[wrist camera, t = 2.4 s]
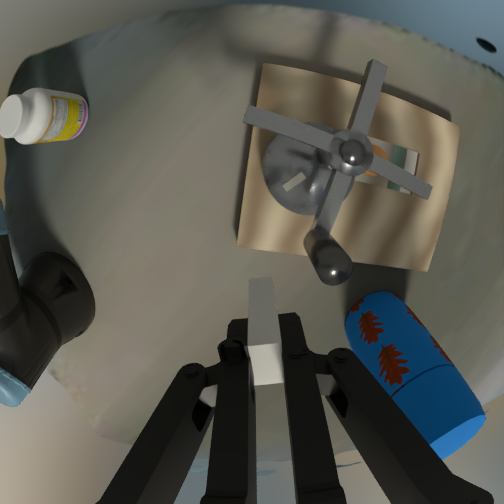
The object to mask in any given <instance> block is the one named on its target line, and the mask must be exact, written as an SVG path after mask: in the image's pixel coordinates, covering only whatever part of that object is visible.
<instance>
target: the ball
mask: <svg viewBox="0 0 504 504" xmlns="http://www.w3.org/2000/svg"><path fill="white" fill-rule="evenodd" d="M372 147H373V152H374V154H375V155H377V156H379V157H381V158H383V159H385V160H387V161H388V159H387V155H386V153H385V151H384V150H383V149H382V148H381V147H379V146H377V145H374V144H372ZM364 173H365V174H366V175H369V176H377V174H375V173H373V172H370V171H368V170H367V171H366V172H364Z"/></svg>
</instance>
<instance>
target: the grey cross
mask: <svg viewBox="0 0 504 504" xmlns="http://www.w3.org/2000/svg"><path fill="white" fill-rule="evenodd" d="M387 67H388V66H386V65H384V64H382V63H380V62H379V61H377V60H375V59H372V60H370V61H369V62H368V63H367V66H366V70H365V73H364V76H363V80H362V83H361V86H360V89H359V92H358V96H357V99H356V102H355V105H354V108H353V111H352V114H351V117H350V120H349V123H348V126H347V129H344V130H337V131H335V130H334V129H332V128H330V127H328V126H326V125H323V124H320V123H314V122H304V123H302V122H299V121H296V120H294V119H291V118H288V117H285V116H282V115H280V114H277V113H274V112H271V111H268V110H264V109H261V108H258V107H255V106H252V105H248V107H247V110H246V113H245V116H244V119H243V123H245V124H249V125H252V126H255V127H258V128H261V129H265V130H268V131H271V132H274V133H277V135H276V136H275V137H274V138H273V139H272V140H271V141H270V143H269V144H268V146H267V148H266V150H265V153H264V157H263V163H262V172H263V177H264V181H265V184H266V186H267V188H268V190H269V192H270V193H271V195H272V196H273V198H274V199H275V200H276V201H277V202H278V203H279V204H280V205H281V206H283V207H284V208H286V209H287V210H289V211H291V212H294V213H297V214H301V215H308V216H310V215H315V217H314V219H313V222H312V224H311V227H310V229H309V232H308V233H307V234H306V235H305V237H304V241H303V245H304V248H305V250H306V252H307V254H308V256H309V258H310V260H311V262H312V264H313V266H314V268H315V270H316V272H317V274H318V276H319V278H320V280H321V281H322V282H323V283H325V284H327V285H331V286H334V285H339V284H341V283H343V282H345V281H346V280H347V279H348V278H349V277H350V275H351V273H352V270H353V263H352V260H351V258H350V257H349V255H348V254H347V253H346V252H345V251H344V249H343V248H342V247H341V246H340V245H339V244H338V242H337V241H336V240H335V239H334V238H333V237H332V235H331V234H330V232H331V230H332V227H333V225H334V222H335V220H336V217H337V215H338V212H339V210H340V207H341V205H342V202H343V201H344V200H345V199H346V197H347V196H348V195H349V193H350V191H351V189H352V187H353V184H354V180H355V176H358V175H361V174H363V173H364V172H366V171H367V170H368V171H370V172H373V173H375V174H377V175H379V176H381V177H383V178H385V179H387V180H389V181H391V182H393V183H395V184H397V185H399V186H401V187H402V188H404V189H406V190H408V191H410V192H412V193H414V194H415V195H417V196H419V197H421V198H423V199H426V200H428V199H429V196H430V193H431V191H432V188H433V186H431V185H430V184H428V183H426V182H425V181H423V180H421V179H420V178H418V177H416V176H414V175H413V174H411V173H409V172H407V171H406V170H404V169H402V168H400V167H398V166H396V165H395V164H393V163H391V162H389V161H387V160H385V159H383V158H381V157H379V156H377V155H375V154H374V152H373V147H372V144H371V142H370V140H369V139H368V137H367V133H368V130H369V127H370V124H371V121H372V118H373V114H374V111H375V108H376V105H377V102H378V98H379V95H380V92H381V88H382V85H383V81H384V78H385V74H386V71H387Z"/></svg>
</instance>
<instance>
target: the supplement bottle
mask: <svg viewBox="0 0 504 504" xmlns="http://www.w3.org/2000/svg"><path fill="white" fill-rule="evenodd" d="M87 119H88V105H87V102H86V100H85V99H84V98H83V97H82V96H80V95H78V94H74V93H69V92H63V91H57V90H50V89H44V88H31V89H29V90H27V91H25V92H24V93H23V94H22V95H20V94H14V95H11V96H9V97H8V98H7V99H6V100H5V101H4V102H3V104H2V106H1V108H0V135H1V136H2V137H3V138H15V140H16V141H17V142H19V143H21V144H34V143H43V142H52V141H64V140H70V139H73V138H75V137H76V136H78V135H79V134H80V133H81V132H82V130H83V129H84V127H85V125H86V122H87Z"/></svg>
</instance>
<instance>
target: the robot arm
mask: <svg viewBox="0 0 504 504" xmlns="http://www.w3.org/2000/svg"><path fill="white" fill-rule="evenodd" d="M8 233H9V229H8V227H7V225H6V220H5V215H4V209H3V204H2V201H1V199H0V403H2V404H4V405H6V406H9V407H16V406H18V405H20V404H21V402H22V401H23V400H24V398H25V397H26V395H27V394H28V393H30V392H31V390H32V388H33V387H34V385H35V383H36V382H37V380H38V379H39V377H40V376H41V374H42V372H43V371H44V370H45V368H46V367H47V365H48V364H49V362H50V361H51V359H52V358H53V356H54V355H55V353H56V352H57V351H58V349H59V348H60V347H61V346H62V345H63V344H65V343H67V342H69V341H71V340H72V339H73V338H75V337H78V336H80V335H81V334H83V333H84V332H85V331H86V330H87V329H88V327H89V326H90V324H91V323H92V321H93V319H94V316H95V301H94V297H93V294H92V291H91V288H90V286H89V284H88V282H87V281H86V279H85V277H84V276H83V275H82V273H81V272H80V271H79V269H78V268H77V267H76V266H75V265H74V264H73V263H71V262H70V261H69V260H68V259H66V258H65V257H63V256H61V255H59V254H56V253H52V252H45V253H41V254H39V255H38V256H36V257H35V258H33V259H32V260H31V261H30V262H29V263H28V264H27V265H26V267H25V269H24V272H23V273H22V275H21V276H20V278H19V279H18V278H17V274H16V270H15V266H14V261H13V257H12V252H11V247H10V242H9V237H8ZM227 332H228V333H227V339H226V340H224V341H222V342H221V343H220V344H219V345H218V348H217V349H218V352H219V356H220V360H221V361H220V362H219V363H217V364H216V365H213V366H210V367H206V368H205V367H204V366H203V365H201V364H198V363H190V364H187V365H185V366H183V367H182V368H181V369H180V370H179V371H178V373H177V375H176V376H175V378H174V380H173V381H172V383H171V384H170V386H169V388H168V389H167V391H166V393H165V394H164V396H163V398H162V399H161V401H160V402H159V404H158V406H157V407H156V409H155V411H154V412H153V414H152V415H151V417H150V419H149V420H148V422H147V424H146V425H145V427H144V429H143V430H142V432H141V433H140V435H139V437H138V438H137V440H136V442H135V443H134V445H133V447H132V448H131V450H130V452H129V453H128V455H127V456H126V458H125V460H124V461H123V463H122V464H121V466H120V468H119V469H118V471H117V473H116V474H115V476H114V478H113V479H112V481H111V483H110V484H109V486H108V487H107V489H106V491H105V492H104V494H103V496H102V497H101V499H100V500H99V501H98V502H97V503H96V504H173V503H174V501H175V499H176V497H177V495H178V493H179V491H180V489H181V487H182V484H183V482H184V480H185V478H186V476H187V473H188V471H189V469H190V467H191V465H192V462H193V460H194V458H195V456H196V454H197V451H198V449H199V447H200V445H201V443H202V440H203V438H204V436H205V433H206V431H207V429H208V427H209V424H210V422H211V420H212V417H213V415H214V421H213V430H212V439H211V448H210V457H209V466H208V476H207V487H206V493H205V495H204V496H203V497H202V499H201V501H200V504H257V485H256V484H257V481H256V480H257V478H256V477H257V476H256V404H255V389H254V384H255V385H264V384H274V383H284V387H285V400H286V406H287V416H288V425H289V435H290V445H291V455H292V464H293V475H294V486H295V498H296V504H347V503H346V498H345V493H344V490H343V488H342V487H341V485H340V483H339V479H338V474H337V468H336V463H335V459H334V454H333V449H332V444H331V439H330V435H329V430H328V425H327V421H326V416H325V412H324V407H323V403H322V398H321V395H325V397H326V399H327V401H328V402H329V404H330V406H331V407H332V409H333V411H334V412H335V414H336V415H337V417H338V419H339V420H340V422H341V424H342V425H343V427H344V429H345V430H346V432H347V433H348V435H349V437H350V438H351V440H352V442H353V443H354V445H355V446H356V448H357V450H358V451H359V453H360V455H361V456H362V458H363V459H364V461H365V462H366V464H367V466H368V467H369V469H370V470H371V472H372V474H373V475H374V477H375V479H376V480H377V482H378V483H379V485H380V487H381V488H382V490H383V491H384V493H385V495H386V496H387V498H388V499H389V501H390V503H391V504H494V499H493V497H492V494H490V493H489V492H488V491H486V490H484V489H482V488H480V487H477V486H476V485H473V484H472V483H470V482H467V481H465V480H464V479H462V478H460V477H458V476H456V475H454V474H452V472H451V471H450V470H449V469H448V467H447V466H446V465H445V464H444V462H443V461H442V460H441V458H440V457H439V456H438V455H437V453H436V452H435V451H434V450H433V448H432V447H431V446H430V445H429V443H428V442H427V441H426V440H425V438H424V437H423V436H422V435H421V433H420V432H419V431H418V430H417V429H416V427H415V426H414V425H413V424H412V422H411V421H410V420H409V419H408V417H407V416H406V415H405V414H404V413H403V411H402V410H401V409H400V408H399V406H398V405H397V404H396V403H395V402H394V400H393V399H392V398H391V397H390V395H389V394H388V393H387V392H386V391H385V389H384V388H383V387H382V386H381V385H380V383H379V382H378V381H377V380H376V379H375V377H374V376H373V375H372V374H371V372H370V371H369V370H368V369H367V368H366V366H365V365H364V364H363V363H362V362H361V360H360V359H359V358H358V357H357V356H356V354H355V353H354V352H353V351H351V350H350V349H347V348H336V349H333V350H332V351H330V352H329V353H328V355H321V354H316V353H314V352H312V351H310V350H309V348H308V347H307V344H306V340H305V336H304V332H303V328H302V324H301V320H300V317H299V316H298V315H297V314H296V313H295V312H294V313H286V314H278V313H277V306H276V299H275V292H274V285H273V278H272V276H271V277H262V278H253V279H249V301H248V318H245V319H234V320H232V321H231V322H230V324H229V325H228V331H227Z"/></svg>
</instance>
